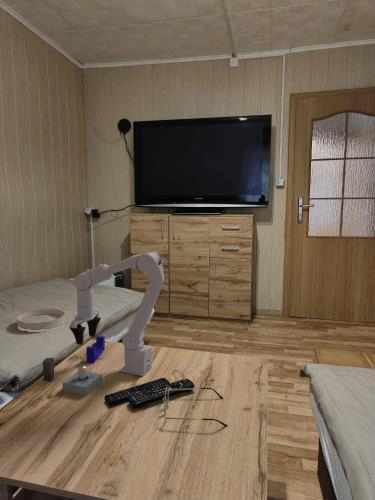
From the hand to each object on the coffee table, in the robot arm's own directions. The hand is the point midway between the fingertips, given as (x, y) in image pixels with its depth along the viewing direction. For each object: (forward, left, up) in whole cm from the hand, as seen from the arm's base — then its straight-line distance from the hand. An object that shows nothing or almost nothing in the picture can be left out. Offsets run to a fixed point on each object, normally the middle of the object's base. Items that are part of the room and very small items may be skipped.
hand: (86, 340), depth 126 cm
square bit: (+6, +13, -10) cm, 17 cm away
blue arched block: (+2, -8, -10) cm, 13 cm away
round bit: (-8, +13, -10) cm, 18 cm away
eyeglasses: (-47, +12, -11) cm, 49 cm away
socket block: (-8, +13, -10) cm, 18 cm away
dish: (+47, -28, -10) cm, 56 cm away
